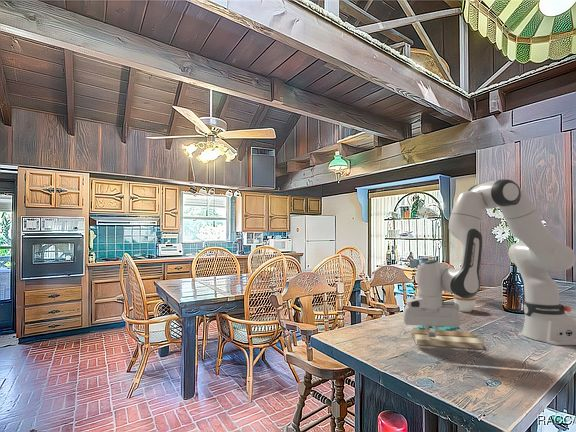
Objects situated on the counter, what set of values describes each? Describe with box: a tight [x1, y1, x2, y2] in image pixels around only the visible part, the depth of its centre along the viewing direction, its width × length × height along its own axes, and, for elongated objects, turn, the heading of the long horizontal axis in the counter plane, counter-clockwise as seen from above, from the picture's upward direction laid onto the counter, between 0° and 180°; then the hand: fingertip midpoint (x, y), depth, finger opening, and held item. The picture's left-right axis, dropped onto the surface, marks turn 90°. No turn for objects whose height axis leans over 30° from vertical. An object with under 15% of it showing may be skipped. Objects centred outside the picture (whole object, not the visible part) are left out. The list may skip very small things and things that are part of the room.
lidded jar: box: [452, 294, 477, 313], centre depth 170 cm, size 11×11×9 cm
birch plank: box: [414, 334, 484, 350], centre depth 122 cm, size 23×6×2 cm, turn 75°
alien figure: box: [412, 325, 460, 331], centre depth 145 cm, size 20×2×20 cm
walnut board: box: [411, 328, 477, 339], centre depth 129 cm, size 23×6×2 cm, turn 75°
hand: (431, 336), depth 123 cm, fingers closed
